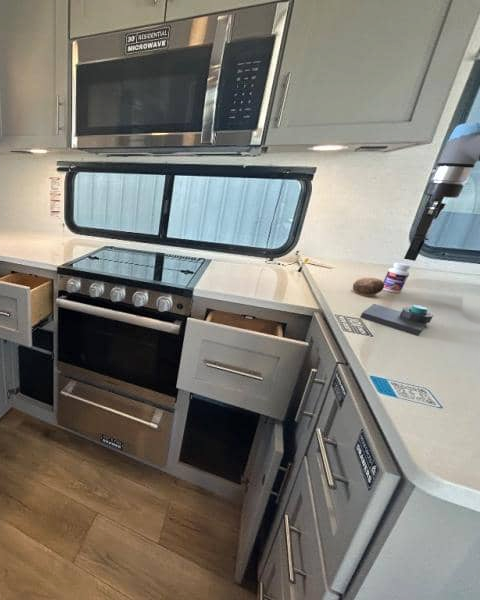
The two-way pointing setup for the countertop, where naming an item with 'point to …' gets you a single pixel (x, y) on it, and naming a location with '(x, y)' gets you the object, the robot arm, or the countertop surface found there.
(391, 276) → the pill bottle
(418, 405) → the countertop surface
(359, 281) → the brown oval lump
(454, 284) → the countertop surface
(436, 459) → the countertop surface
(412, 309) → the tare button
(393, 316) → the scale
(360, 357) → the countertop surface
